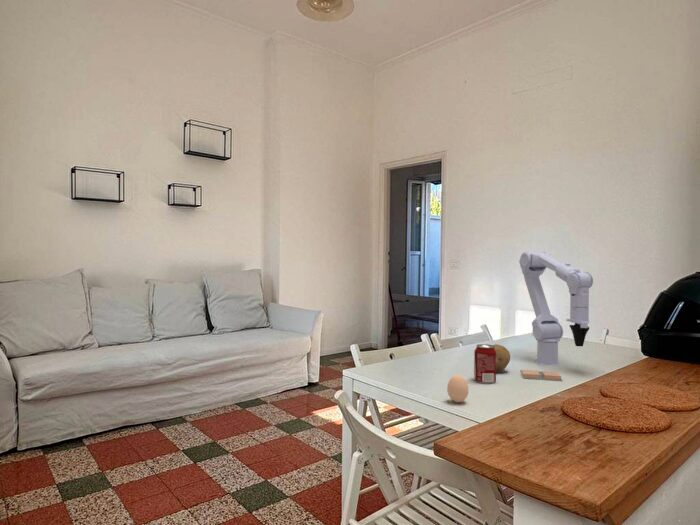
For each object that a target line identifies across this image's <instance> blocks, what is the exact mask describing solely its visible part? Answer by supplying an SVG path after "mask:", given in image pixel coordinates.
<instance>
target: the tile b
mask: <svg viewBox="0 0 700 525" xmlns="http://www.w3.org/2000/svg"><path fill="white" fill-rule="evenodd" d="M541 372H542V376H543V378H544V379H545V380H544V381H547V380H559V381H558V382H562V381H561V379H562V376H561V374H560V373H559V372H558V371H550V370H542V371H541Z"/></svg>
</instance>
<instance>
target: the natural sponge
mask: <svg viewBox="0 0 700 525" xmlns="http://www.w3.org/2000/svg"><path fill="white" fill-rule="evenodd" d="M492 345H493V346H494V349H495V351H496V373H502V372H503V371H504V370H505V369H506V368H507V366H508V364H509V363H510V361H511V354H510V351H509V350H508V349H507V348H506V346H503V345H501V344H492Z"/></svg>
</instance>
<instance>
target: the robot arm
mask: <svg viewBox="0 0 700 525" xmlns="http://www.w3.org/2000/svg"><path fill="white" fill-rule="evenodd" d="M518 262H519V265H520V269H521V273H522V274H523V278H524V281H525V285H526V289H527V291H528V295H529V299H530V302H531V304H532V308H533V311H534V314H535V318H534V319H533V321H532V322H531V327H532V335H533V337H534V339H535V340H536V341H537V342H536V348H537V349H536V352H537V353H536V354H537V355H536V356H537V357H536V358H534V362H536V364H537V365H539V366H542V365H543V366H558V367H560V366H562V365H561V364H560V363H559V342H560V341H561V340H560V339H562V338H563V335H564V329H563V326H562V325H561V324H560V322H559V320H558V318H557V317H556V316H554V315H553V314H552V313H551V311H550V308H549V304H548V301H547V298H546V296H545V292H544V289H543V286H542V283H541V280H540V276H541V275H543V274H544V272H545V271H546V270H547V269H549V270H552V271H553V272H554V274H555V276H556V277H557V278H559V279H561V280H562V281H564V282H565V283H566V285H567V287H568V293H569V294H570V297H569V298H570V302H569V303H570V304H569V306H570V308H569V309H570V310H569V314H570V315H569V316H570V318H566V319H565V320H566V322H571V323H574V324H570V325H569V328H570V330H571V332H572V336H573V341H574V344H575V347H584V343H585V340H586V337H587V333H588V331H589V330H590V327H589V325H588V324H589V323H590V319H589V317H590V316H589V314H590V312H589V311H590V310H589V307H590V304H589V303H590V300H589V299H590V294H589V293H590V288H592V286H593V284H594V278H593V276H592V274H590V272H588V271H584V272H581V271H580V269H578V268H575V267H573V266H572V265H571V263H570V262H562V263H560V262H559V261H557V260H556V259H555V258H553V257H552V256H551V254H550V253H547V252H546V251H542V252H539V251H536V252H535V251H524V252H522V253H521V255H520V258H519V260H518Z"/></svg>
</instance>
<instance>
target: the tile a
mask: <svg viewBox="0 0 700 525" xmlns="http://www.w3.org/2000/svg"><path fill="white" fill-rule="evenodd" d="M521 370H522V374H521V376H522V378H523V379H524V378H528V379H527V380H532V379H540V374H539V373H538V370H535V369H533V370H532V369H521Z"/></svg>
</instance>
